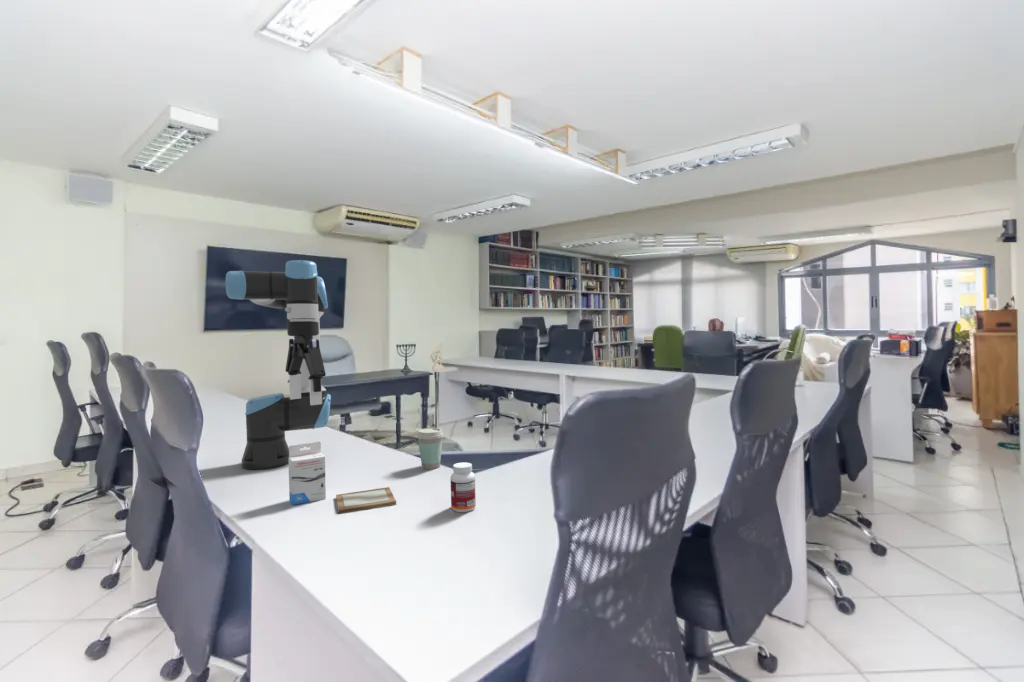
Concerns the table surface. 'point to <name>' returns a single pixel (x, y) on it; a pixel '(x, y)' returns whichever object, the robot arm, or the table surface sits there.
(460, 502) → the pill bottle
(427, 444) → the coffee cup
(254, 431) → the robot arm
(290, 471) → the ink box
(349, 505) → the board
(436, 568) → the table surface
